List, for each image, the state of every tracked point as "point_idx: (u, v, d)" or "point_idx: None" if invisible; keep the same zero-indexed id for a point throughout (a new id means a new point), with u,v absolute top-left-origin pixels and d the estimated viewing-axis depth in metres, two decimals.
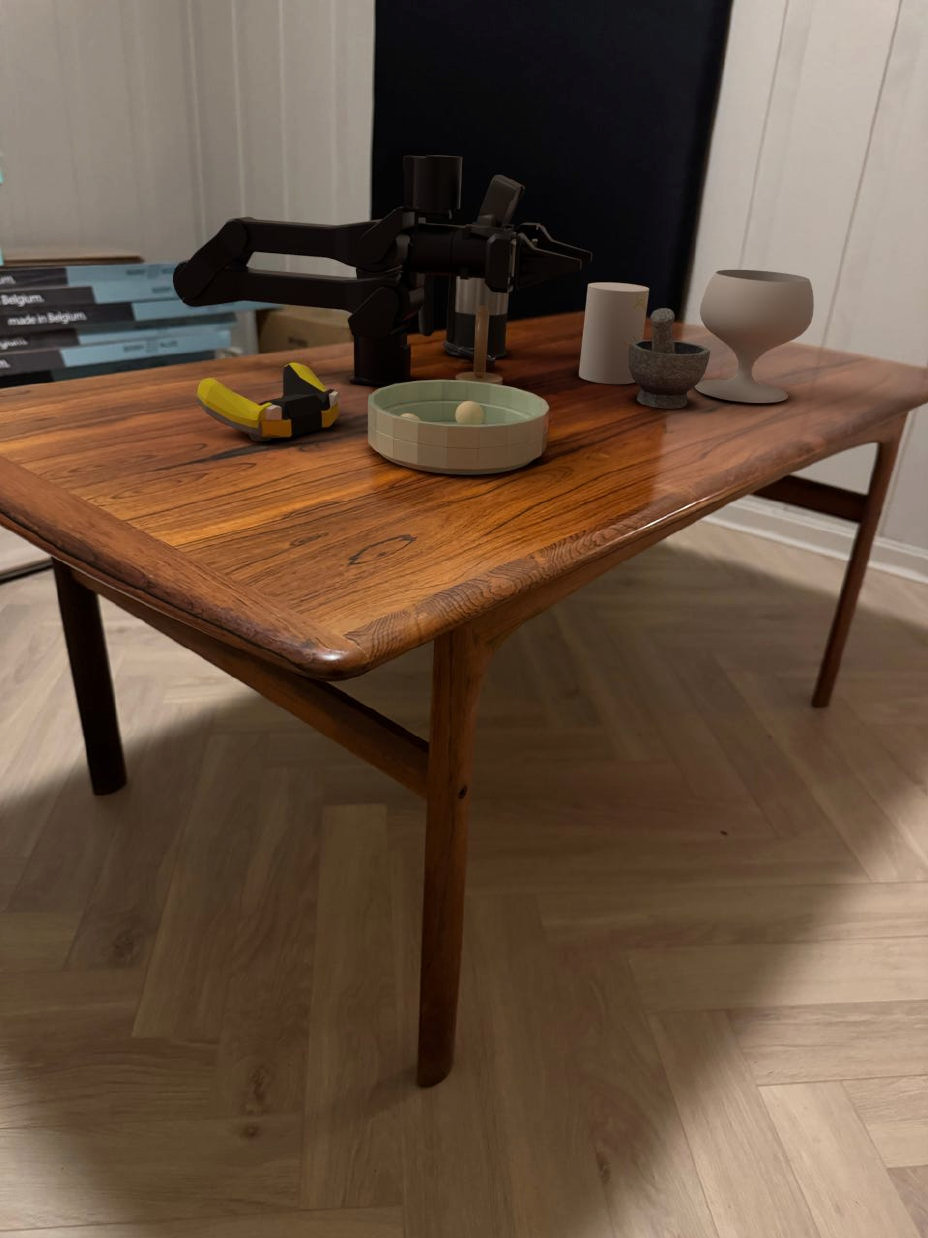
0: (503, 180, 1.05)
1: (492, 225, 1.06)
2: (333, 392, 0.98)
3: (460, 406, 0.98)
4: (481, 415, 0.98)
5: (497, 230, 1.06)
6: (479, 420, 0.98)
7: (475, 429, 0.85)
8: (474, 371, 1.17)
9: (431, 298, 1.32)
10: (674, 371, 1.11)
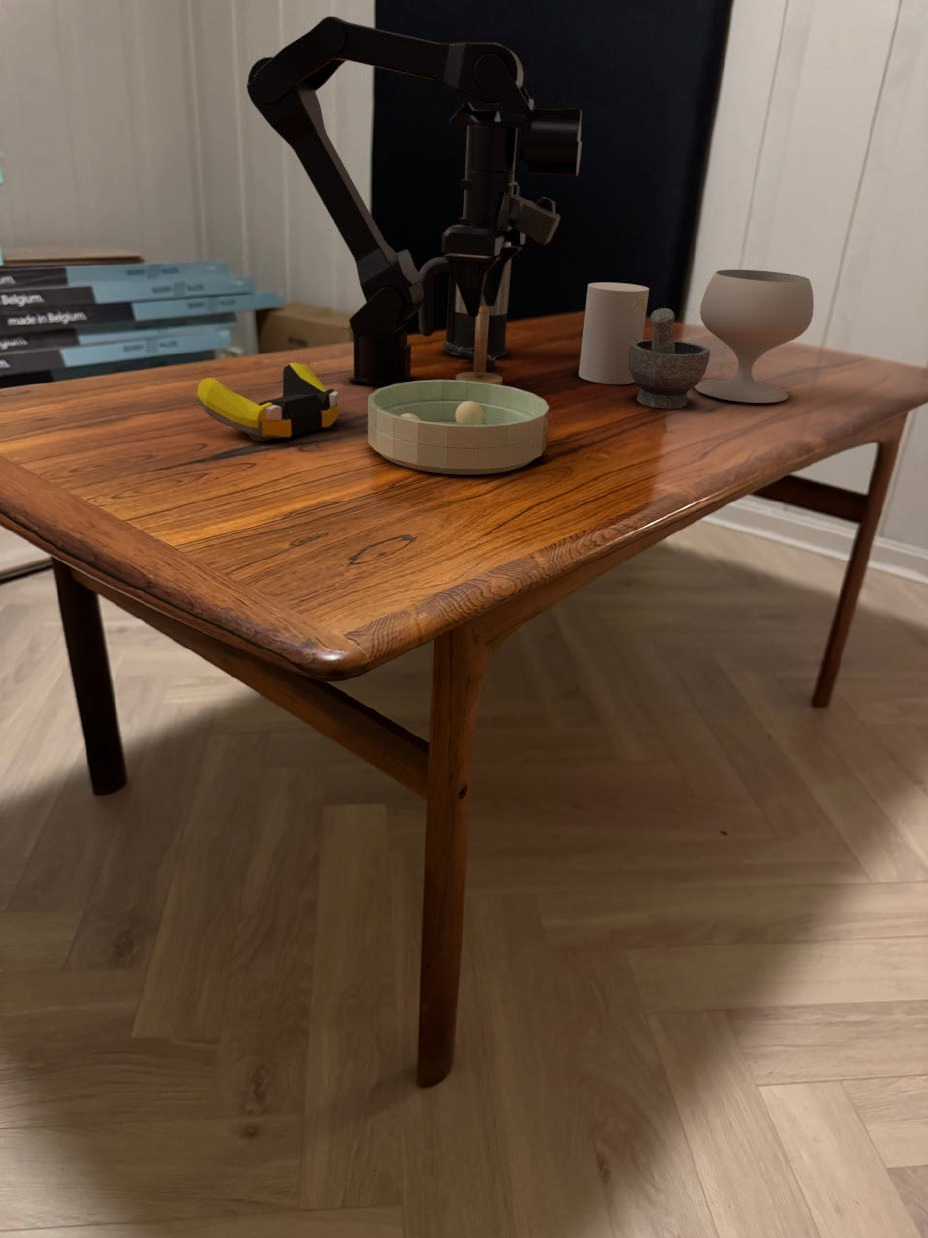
0: (550, 228, 1.06)
1: (509, 218, 1.06)
2: (333, 392, 0.98)
3: (460, 406, 0.98)
4: (481, 415, 0.98)
5: (505, 224, 1.06)
6: (479, 420, 0.98)
7: (475, 429, 0.85)
8: (474, 371, 1.17)
9: (431, 298, 1.32)
10: (674, 371, 1.11)
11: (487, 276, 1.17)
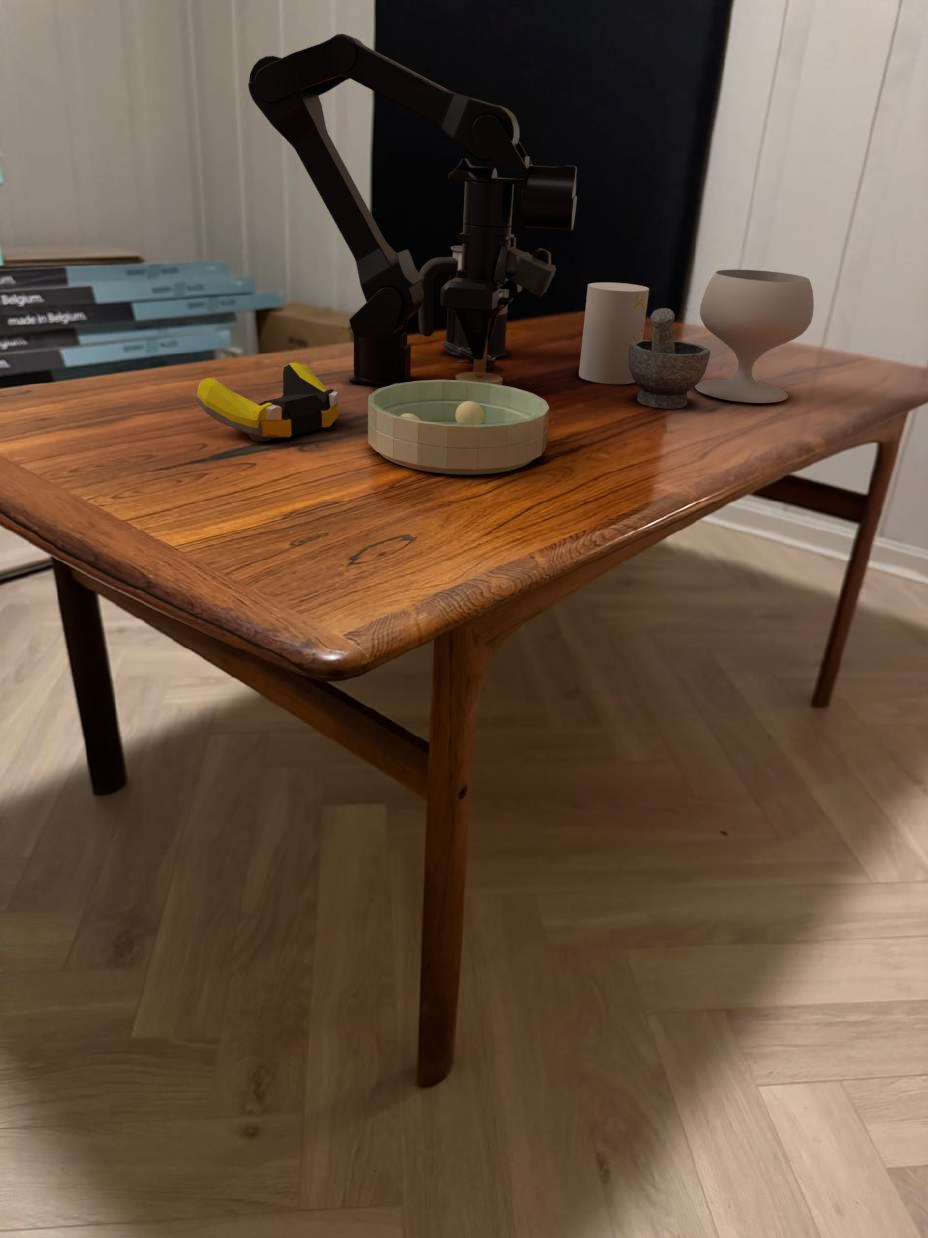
0: (546, 280, 1.09)
1: (506, 271, 1.09)
2: (333, 392, 0.98)
3: (460, 406, 0.98)
4: (481, 415, 0.98)
5: (502, 277, 1.09)
6: (479, 420, 0.98)
7: (475, 429, 0.85)
8: (474, 371, 1.17)
9: (431, 298, 1.32)
10: (674, 371, 1.11)
11: None
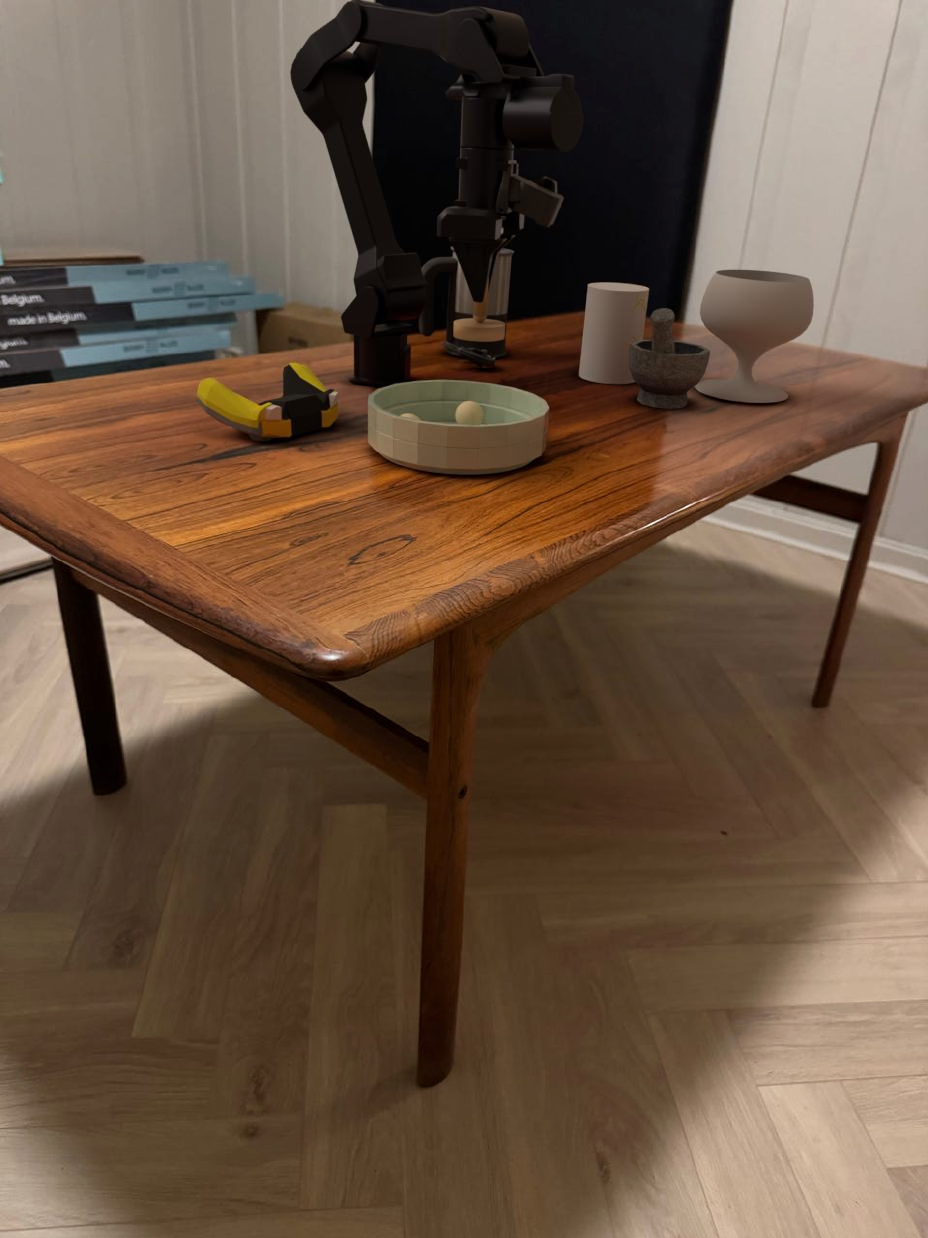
0: (554, 209, 0.98)
1: (509, 199, 0.98)
2: (333, 392, 0.98)
3: (460, 406, 0.98)
4: (481, 415, 0.98)
5: (504, 206, 0.98)
6: (479, 420, 0.98)
7: (475, 429, 0.85)
8: (474, 315, 1.06)
9: (431, 298, 1.32)
10: (674, 371, 1.11)
11: None
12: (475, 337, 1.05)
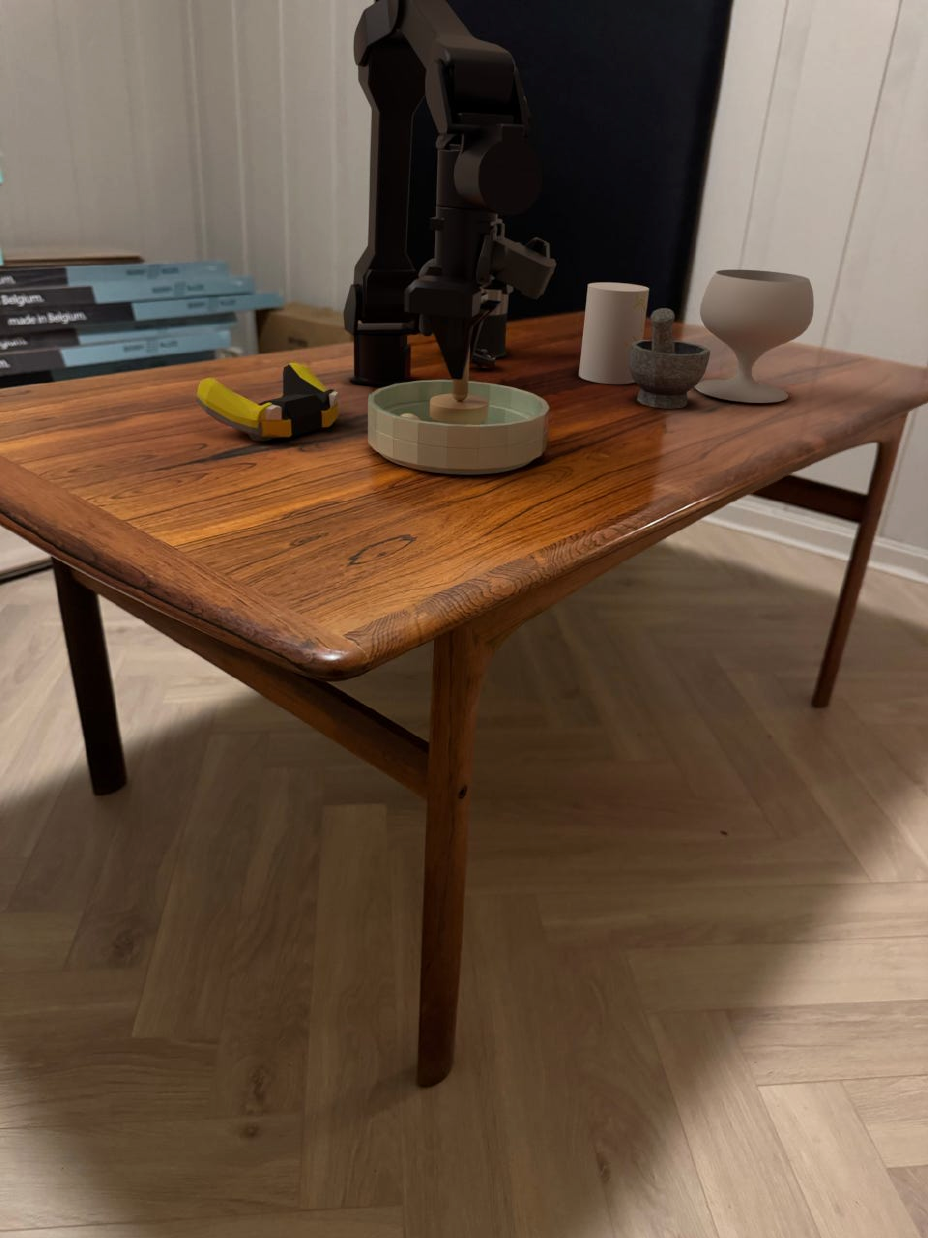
0: (544, 279, 0.84)
1: (492, 267, 0.84)
2: (333, 392, 0.98)
3: None
4: None
5: (486, 274, 0.84)
6: None
7: (475, 429, 0.85)
8: (453, 393, 0.92)
9: None
10: (674, 371, 1.11)
11: None
12: (453, 419, 0.91)
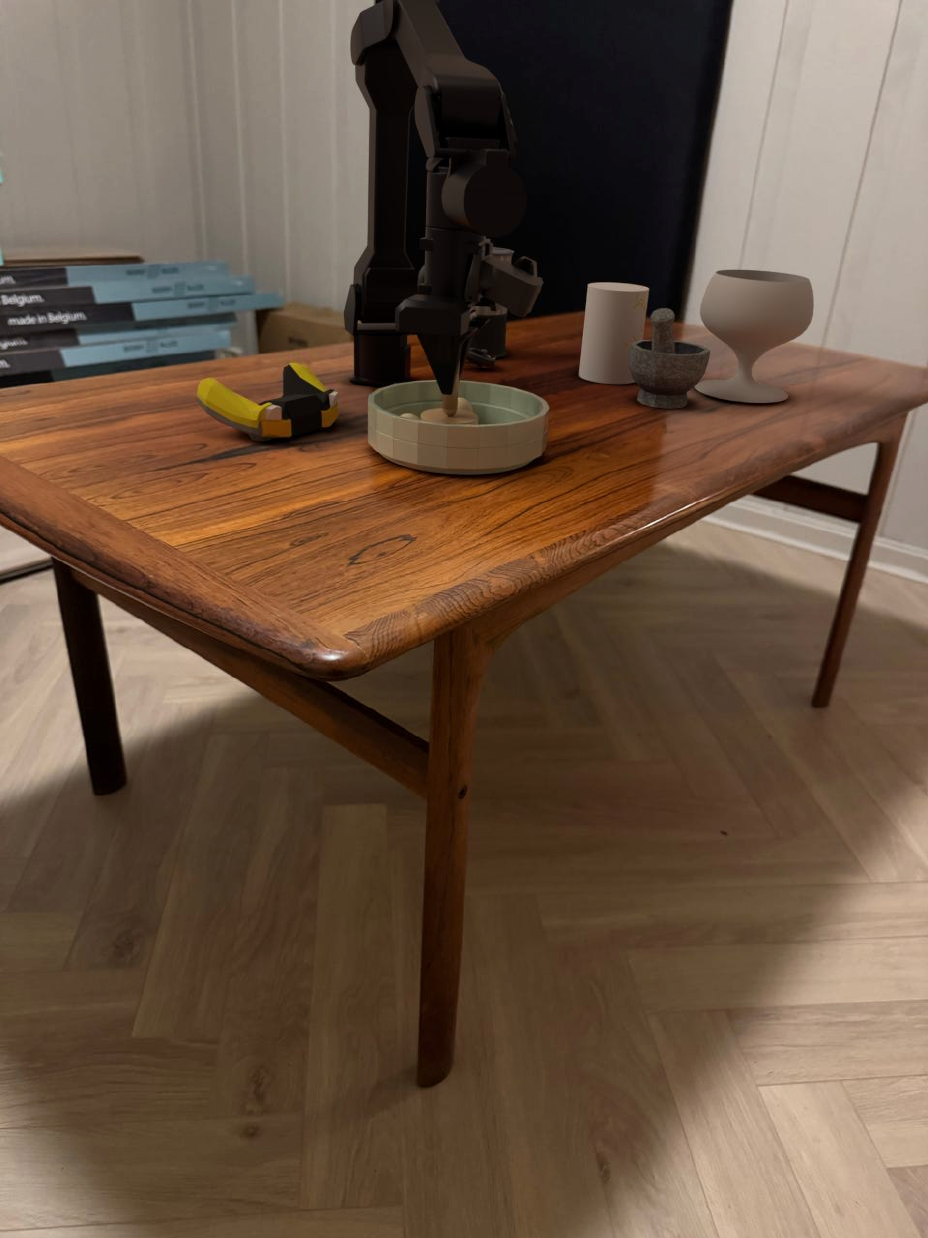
0: (531, 297, 0.86)
1: (480, 286, 0.86)
2: (333, 392, 0.98)
3: None
4: (467, 404, 0.99)
5: (474, 293, 0.86)
6: (464, 406, 0.98)
7: (475, 429, 0.85)
8: (443, 408, 0.94)
9: None
10: (674, 371, 1.11)
11: None
12: None
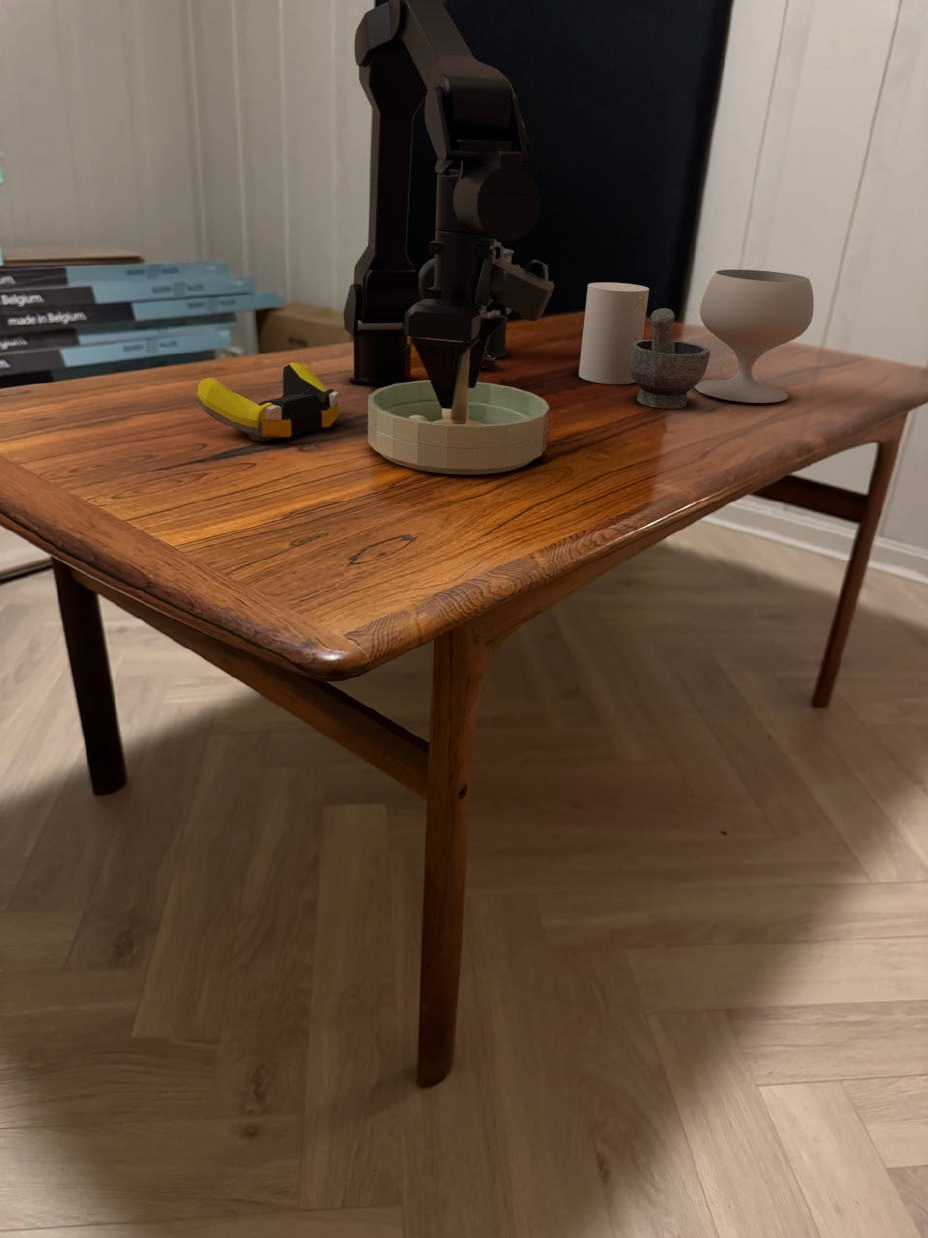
0: (542, 301, 0.85)
1: (491, 290, 0.85)
2: (333, 392, 0.98)
3: None
4: None
5: (485, 297, 0.85)
6: None
7: (475, 429, 0.85)
8: (452, 419, 0.94)
9: None
10: (674, 371, 1.11)
11: None
12: None
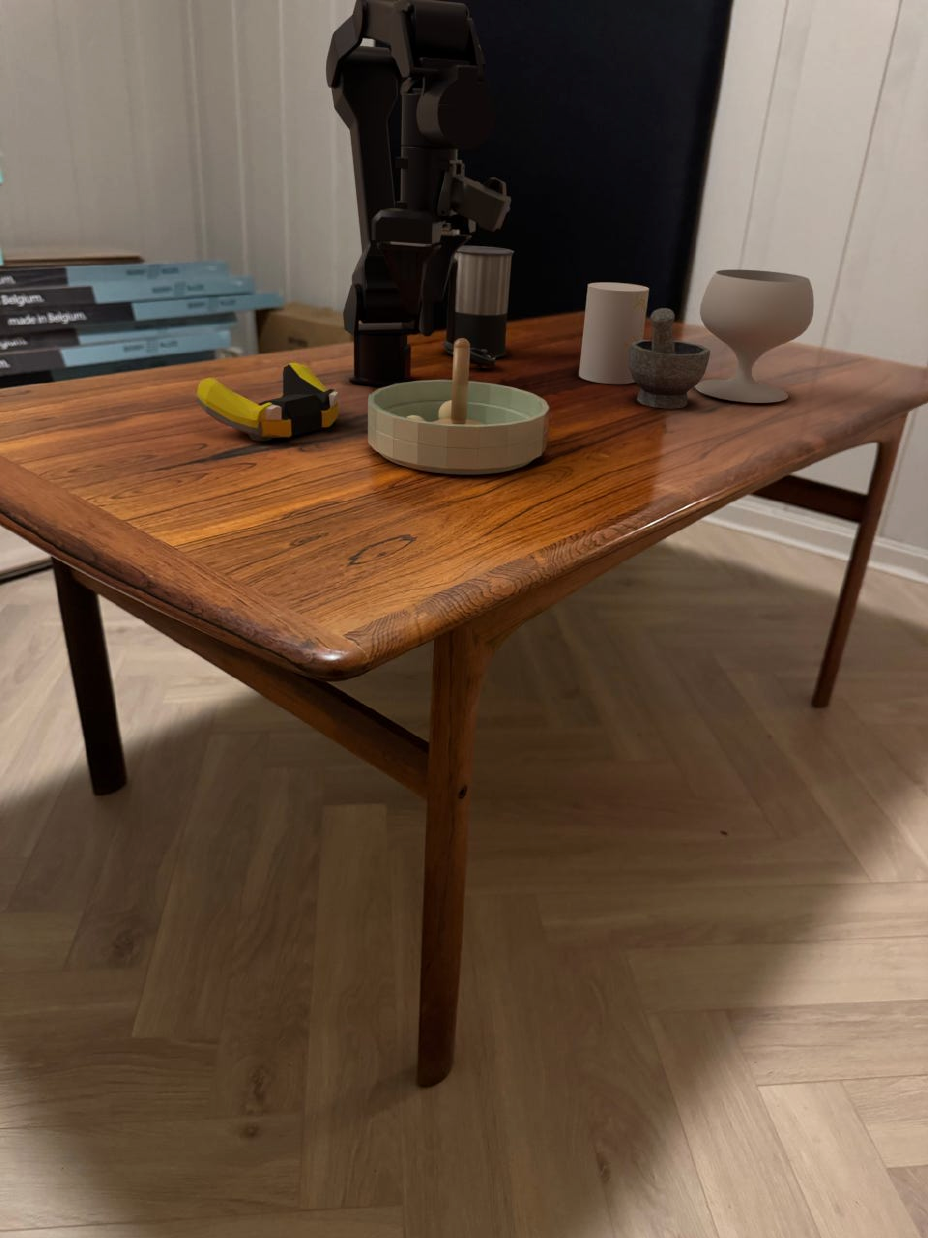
0: (499, 212, 0.93)
1: (451, 201, 0.93)
2: (333, 392, 0.98)
3: None
4: None
5: (446, 208, 0.93)
6: None
7: (475, 429, 0.85)
8: (452, 419, 0.94)
9: None
10: (674, 371, 1.11)
11: (432, 268, 1.03)
12: None
